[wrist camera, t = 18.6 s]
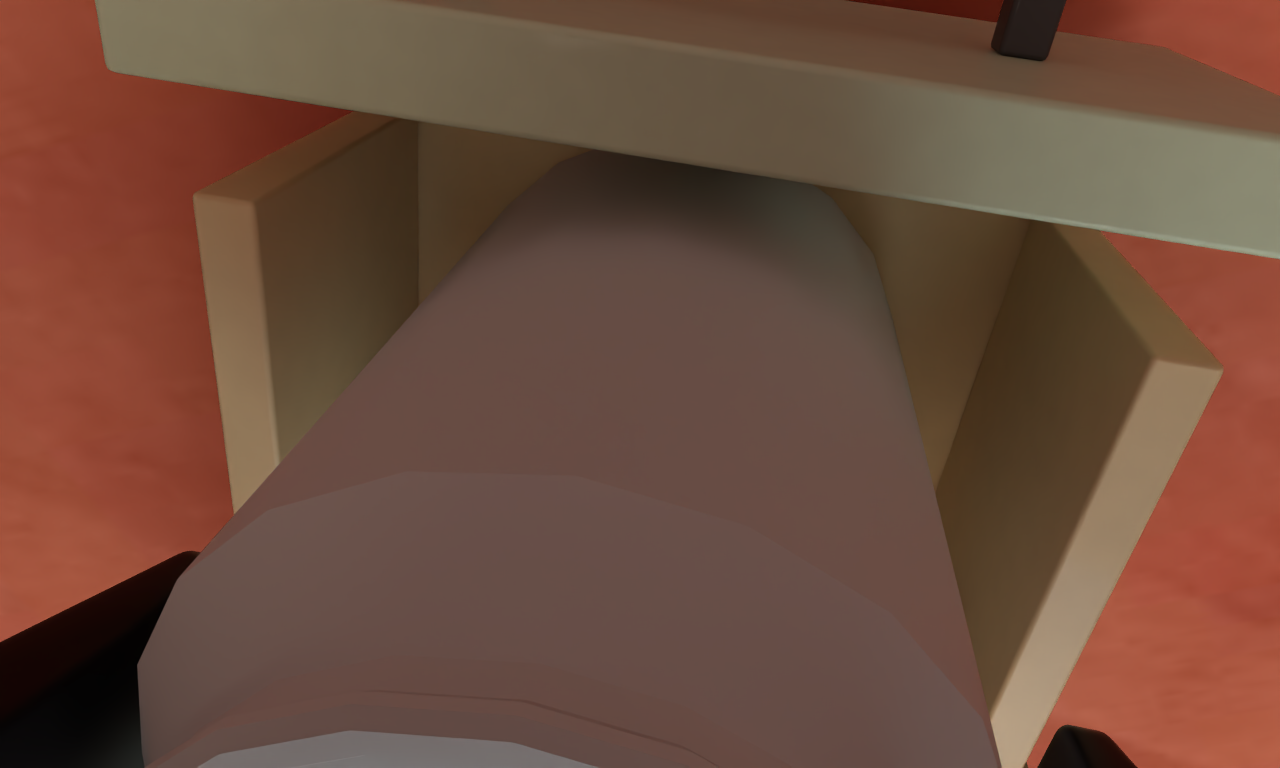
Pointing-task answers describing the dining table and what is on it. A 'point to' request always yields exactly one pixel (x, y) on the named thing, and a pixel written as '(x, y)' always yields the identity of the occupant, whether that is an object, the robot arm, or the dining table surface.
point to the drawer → (783, 149)
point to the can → (596, 516)
